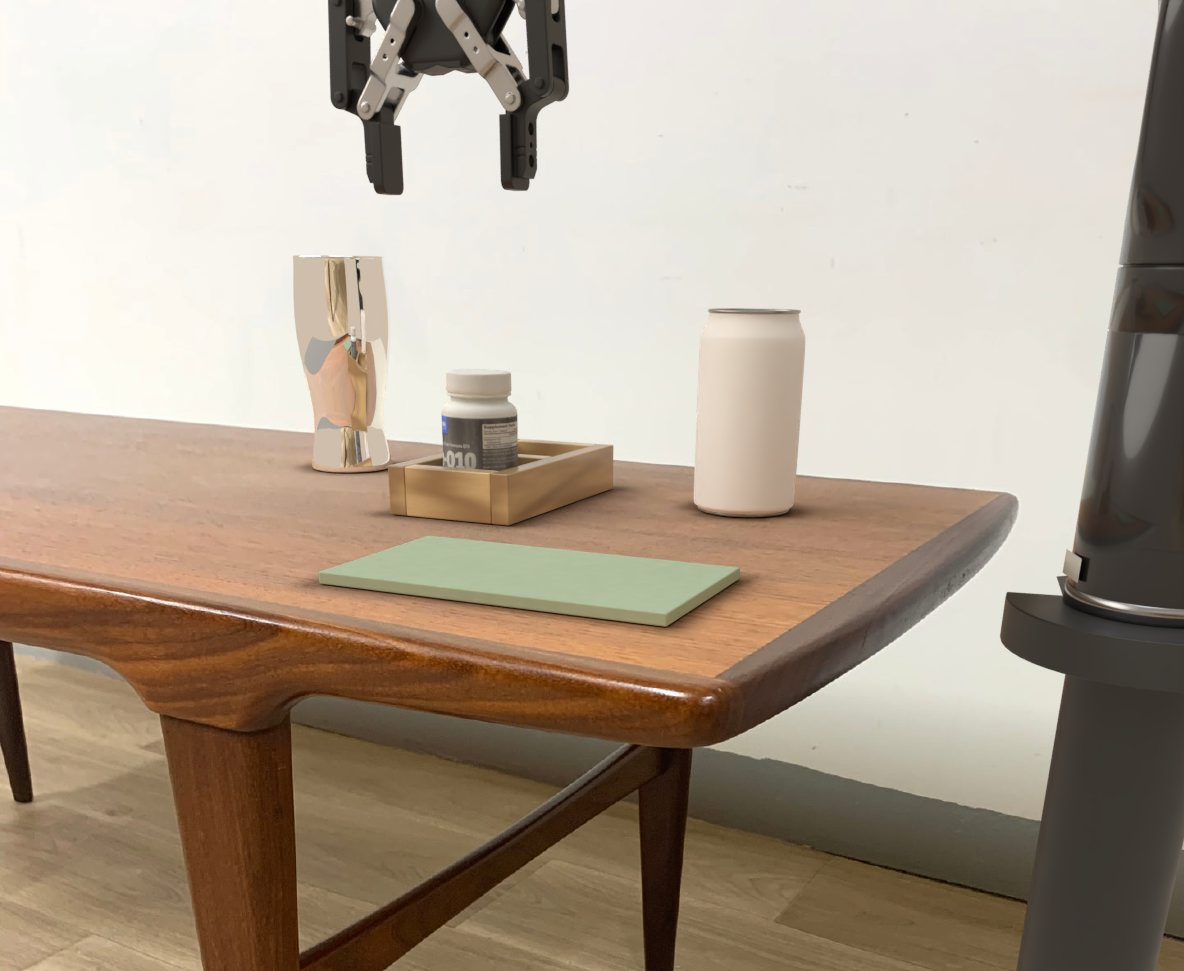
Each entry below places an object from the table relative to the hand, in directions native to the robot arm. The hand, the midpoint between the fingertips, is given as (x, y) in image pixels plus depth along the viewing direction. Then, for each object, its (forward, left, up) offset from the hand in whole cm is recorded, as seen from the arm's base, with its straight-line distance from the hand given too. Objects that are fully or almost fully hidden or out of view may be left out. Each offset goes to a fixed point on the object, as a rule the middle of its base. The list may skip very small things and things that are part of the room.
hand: (450, 192), depth 71 cm
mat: (-13, +16, -18) cm, 28 cm away
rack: (-1, -4, -18) cm, 19 cm away
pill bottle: (-1, 0, -18) cm, 18 cm away
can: (-16, -8, -18) cm, 26 cm away
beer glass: (+17, -12, -18) cm, 28 cm away
